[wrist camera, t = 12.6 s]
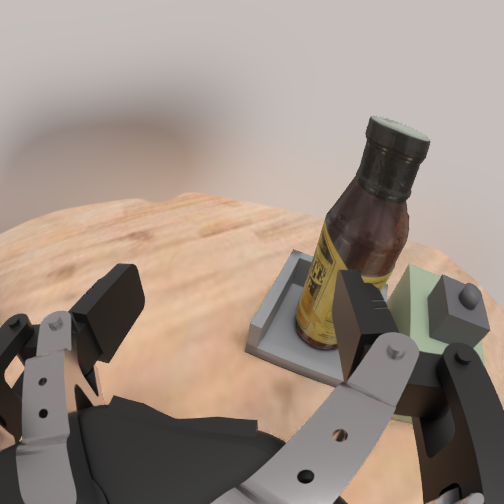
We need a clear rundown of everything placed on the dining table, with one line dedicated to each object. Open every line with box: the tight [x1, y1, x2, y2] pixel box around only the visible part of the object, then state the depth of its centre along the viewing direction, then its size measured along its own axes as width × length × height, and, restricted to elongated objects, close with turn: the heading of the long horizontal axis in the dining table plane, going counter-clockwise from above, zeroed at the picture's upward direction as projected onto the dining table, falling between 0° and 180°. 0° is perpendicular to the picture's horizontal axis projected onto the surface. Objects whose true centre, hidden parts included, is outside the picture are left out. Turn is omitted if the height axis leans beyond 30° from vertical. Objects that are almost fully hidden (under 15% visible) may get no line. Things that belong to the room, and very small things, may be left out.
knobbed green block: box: [245, 249, 490, 424], centre depth 22 cm, size 22×14×11 cm, turn 65°
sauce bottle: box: [295, 116, 430, 349], centre depth 20 cm, size 6×6×20 cm
